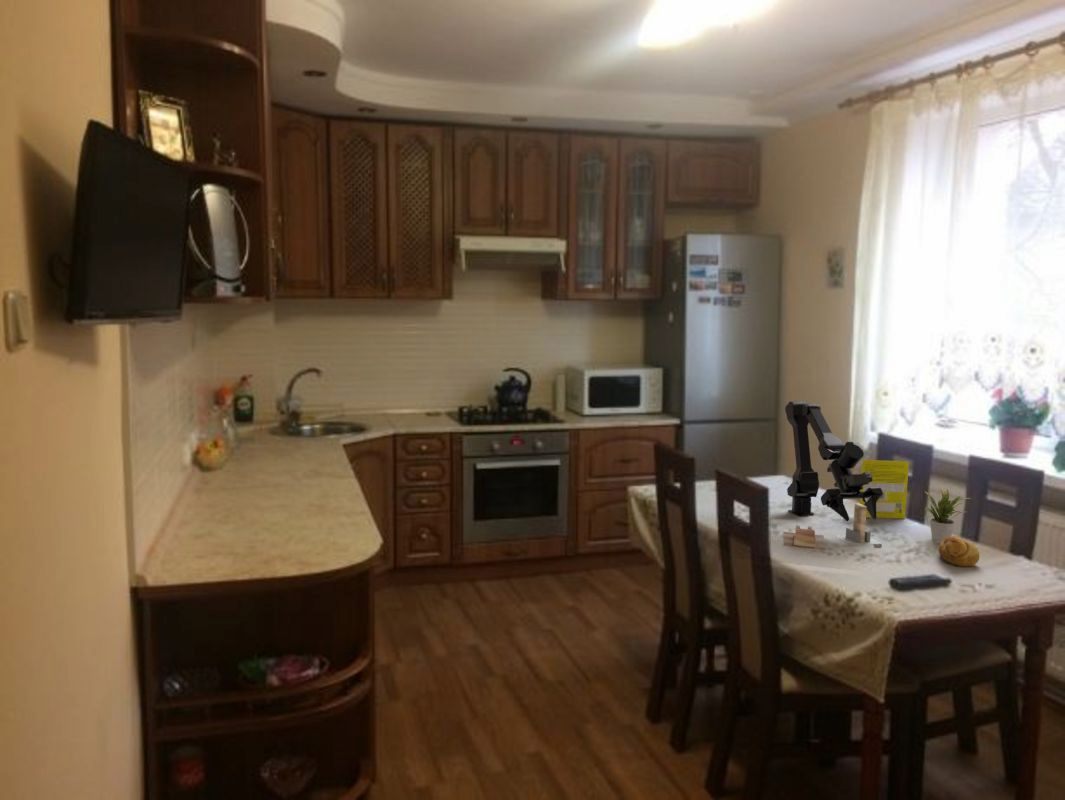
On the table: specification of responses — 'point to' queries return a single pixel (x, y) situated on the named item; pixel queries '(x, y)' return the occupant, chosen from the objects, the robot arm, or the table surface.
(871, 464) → the food package
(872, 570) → the table surface
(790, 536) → the offcut rack
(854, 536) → the slate stand
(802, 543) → the lower offcut
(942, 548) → the bread roll
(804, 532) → the upper offcut
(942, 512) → the house plant
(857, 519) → the tan wooden block
